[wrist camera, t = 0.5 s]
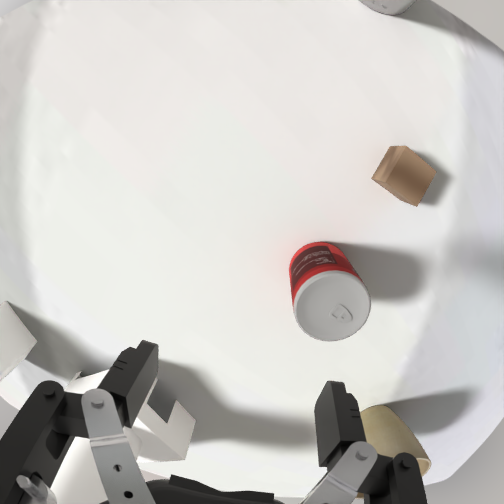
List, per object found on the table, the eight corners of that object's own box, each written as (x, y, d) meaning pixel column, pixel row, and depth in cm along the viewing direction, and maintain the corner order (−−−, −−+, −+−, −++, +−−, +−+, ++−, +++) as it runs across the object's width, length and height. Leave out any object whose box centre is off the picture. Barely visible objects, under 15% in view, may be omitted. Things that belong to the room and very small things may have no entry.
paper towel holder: (132, 430, 53) (87, 532, 25) (77, 372, 48) (4, 473, 20) (196, 420, 49) (159, 553, 21) (135, 351, 45) (50, 494, 16)
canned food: (333, 301, 39) (350, 349, 28) (279, 284, 39) (281, 330, 28) (356, 252, 36) (385, 287, 26) (301, 231, 36) (311, 261, 26)
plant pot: (374, 381, 43) (398, 453, 28) (419, 402, 45) (445, 461, 30) (319, 428, 48) (326, 495, 33) (368, 443, 49) (381, 501, 34)
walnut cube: (389, 146, 32) (406, 145, 27) (417, 169, 32) (436, 171, 28) (371, 178, 33) (385, 182, 29) (400, 200, 34) (416, 206, 29)
